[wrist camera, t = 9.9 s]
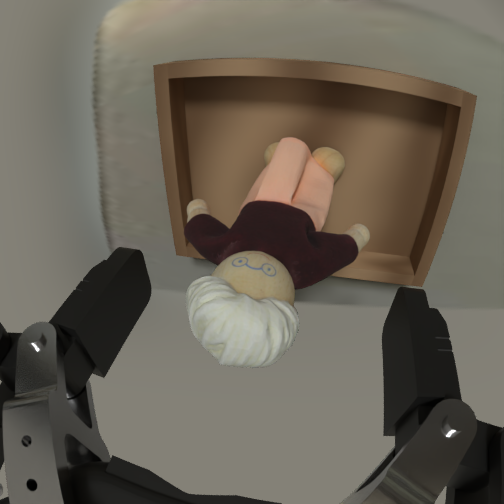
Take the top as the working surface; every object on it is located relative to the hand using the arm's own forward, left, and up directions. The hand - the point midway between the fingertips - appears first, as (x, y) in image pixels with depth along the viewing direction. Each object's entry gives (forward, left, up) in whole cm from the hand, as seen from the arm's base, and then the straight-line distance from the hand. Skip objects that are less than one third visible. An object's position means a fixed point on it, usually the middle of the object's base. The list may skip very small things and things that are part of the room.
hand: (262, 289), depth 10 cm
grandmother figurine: (0, 0, -10) cm, 10 cm away
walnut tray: (-1, 0, -11) cm, 11 cm away
